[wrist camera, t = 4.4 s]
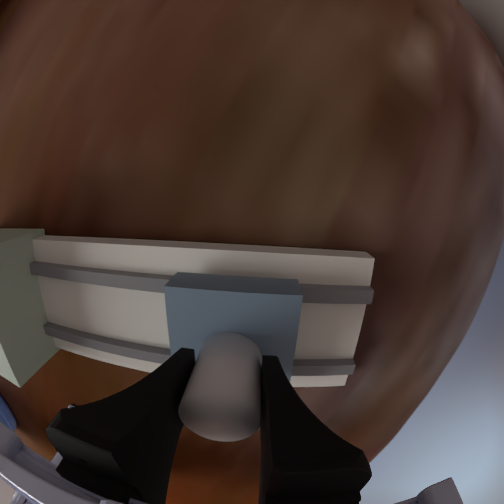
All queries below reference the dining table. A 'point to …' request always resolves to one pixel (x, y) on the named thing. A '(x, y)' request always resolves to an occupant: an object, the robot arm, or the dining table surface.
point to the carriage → (230, 345)
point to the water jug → (7, 415)
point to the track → (162, 299)
